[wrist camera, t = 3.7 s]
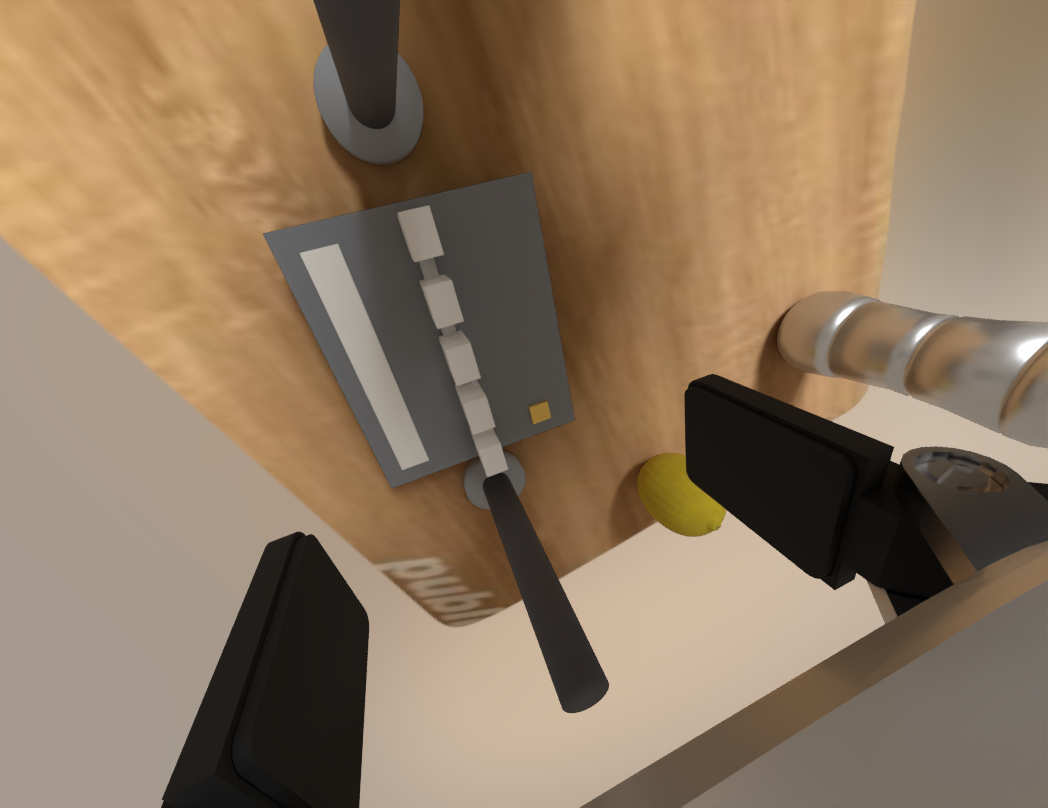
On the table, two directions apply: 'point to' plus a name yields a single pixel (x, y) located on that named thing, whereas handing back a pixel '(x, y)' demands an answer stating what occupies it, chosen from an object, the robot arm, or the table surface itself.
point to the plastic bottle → (927, 358)
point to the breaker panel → (410, 333)
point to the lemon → (677, 497)
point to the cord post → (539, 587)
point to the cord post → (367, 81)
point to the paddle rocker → (452, 335)
